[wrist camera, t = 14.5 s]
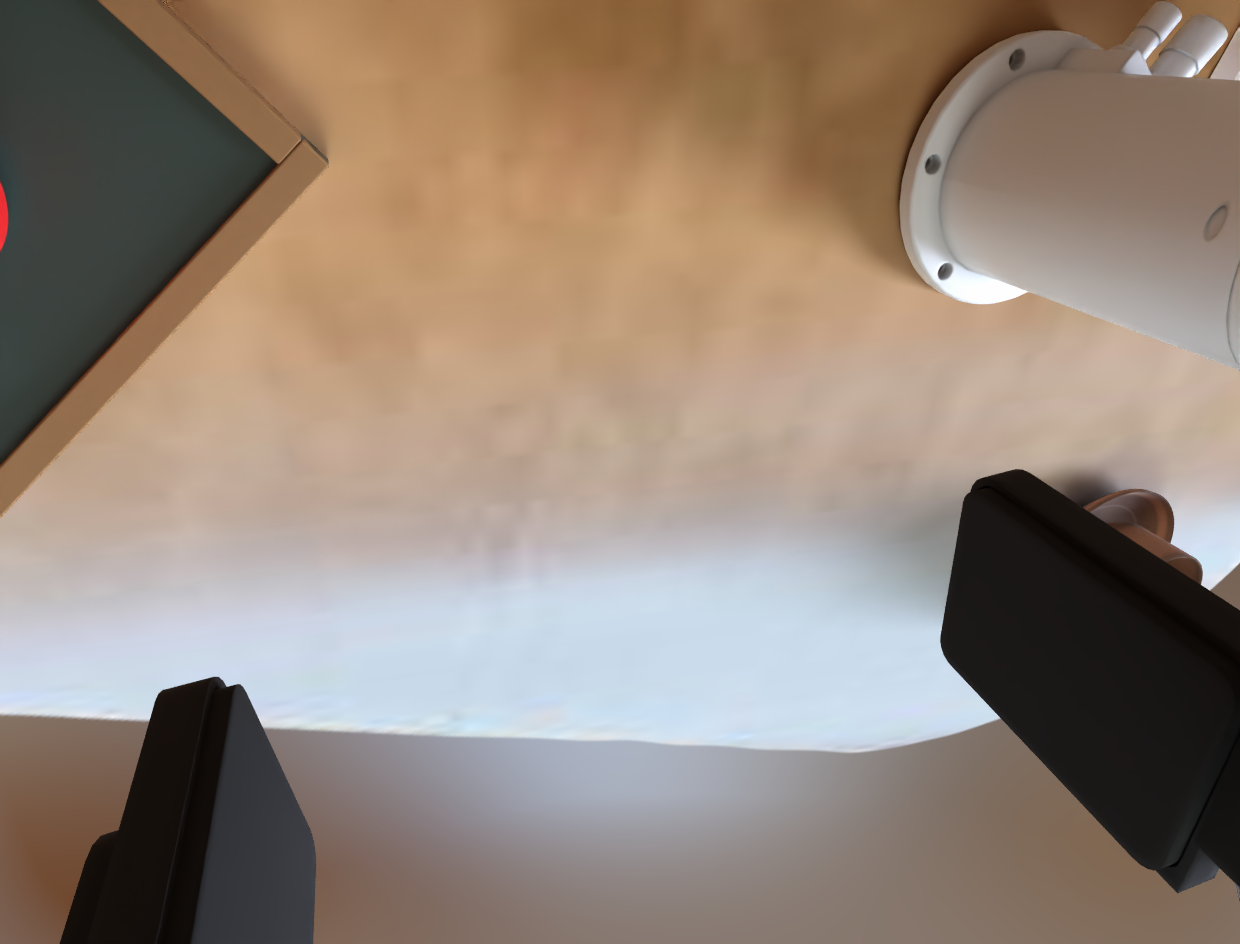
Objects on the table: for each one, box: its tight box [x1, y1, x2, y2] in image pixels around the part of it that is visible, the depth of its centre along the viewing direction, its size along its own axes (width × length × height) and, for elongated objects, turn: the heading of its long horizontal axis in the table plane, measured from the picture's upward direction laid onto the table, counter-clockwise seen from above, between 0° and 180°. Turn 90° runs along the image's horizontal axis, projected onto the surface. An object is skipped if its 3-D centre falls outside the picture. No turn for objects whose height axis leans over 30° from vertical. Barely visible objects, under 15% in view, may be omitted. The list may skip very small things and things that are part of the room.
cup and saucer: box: [1083, 489, 1203, 585], centre depth 54 cm, size 12×12×6 cm
